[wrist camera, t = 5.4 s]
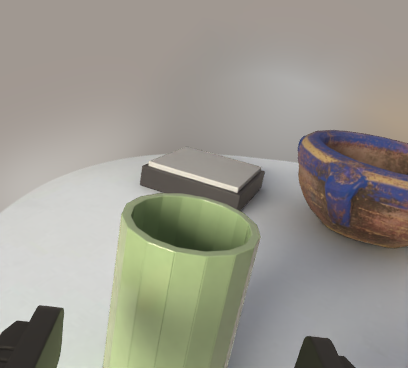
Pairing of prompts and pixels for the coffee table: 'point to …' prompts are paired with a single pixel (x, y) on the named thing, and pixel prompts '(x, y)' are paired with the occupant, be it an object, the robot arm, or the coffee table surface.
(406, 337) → the coffee table surface
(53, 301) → the coffee table surface
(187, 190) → the kitchen scale
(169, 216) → the light green cup
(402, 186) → the bowl
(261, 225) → the coffee table surface
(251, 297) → the coffee table surface
